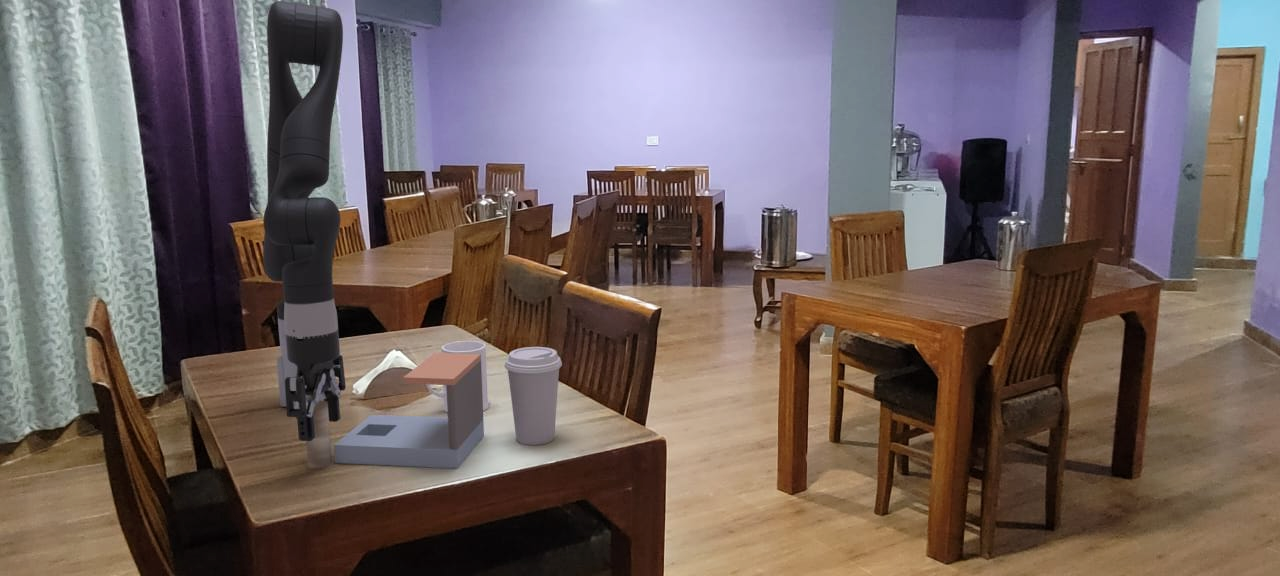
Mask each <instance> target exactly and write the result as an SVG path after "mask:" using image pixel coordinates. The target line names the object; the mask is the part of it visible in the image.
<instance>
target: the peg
mask: <svg viewBox="0 0 1280 576" xmlns="http://www.w3.org/2000/svg"><path fill="white" fill-rule="evenodd" d="M307 406H308V403H306V409H307ZM312 416H313V420H314V432H315V438H314V439H313V440H312V441H305V449H306V460H307V467H308V469H310V470H324V469H327V468H330V466H332V465H333V457H332V455H333V454H332V443H331V442H332V441H331V430H330V429H331V428H330V422H329V414H328V402H326V401H321V400H319V402H318V403H316V404H315V406H314V410H313V414H312Z"/></svg>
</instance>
